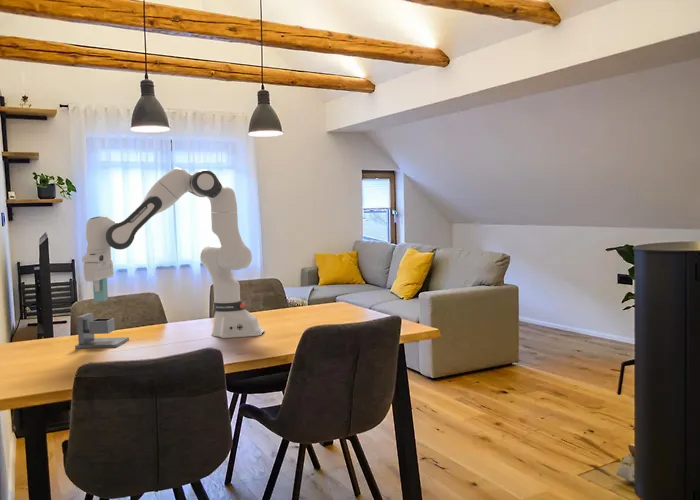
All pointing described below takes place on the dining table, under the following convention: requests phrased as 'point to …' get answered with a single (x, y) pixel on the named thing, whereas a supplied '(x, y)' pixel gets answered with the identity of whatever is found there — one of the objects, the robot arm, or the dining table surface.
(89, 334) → the cup bracket
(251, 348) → the dining table surface
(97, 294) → the teal rectangular block
